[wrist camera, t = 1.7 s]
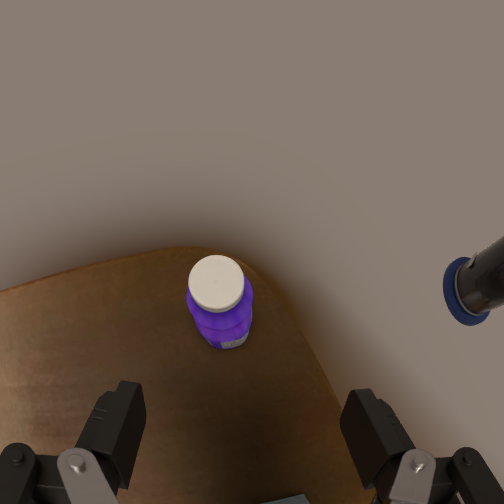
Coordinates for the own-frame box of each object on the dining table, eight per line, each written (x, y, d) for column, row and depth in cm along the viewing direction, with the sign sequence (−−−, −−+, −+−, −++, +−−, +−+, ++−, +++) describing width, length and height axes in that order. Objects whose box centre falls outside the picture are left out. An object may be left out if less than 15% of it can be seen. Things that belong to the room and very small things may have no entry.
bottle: (252, 346, 36) (265, 321, 20) (207, 354, 35) (183, 334, 19) (242, 292, 39) (246, 228, 23) (199, 299, 38) (172, 239, 22)
